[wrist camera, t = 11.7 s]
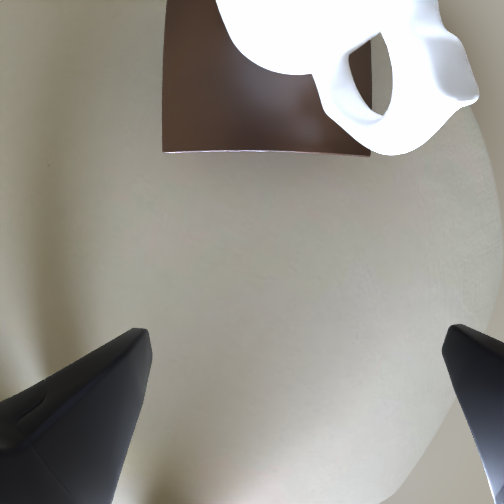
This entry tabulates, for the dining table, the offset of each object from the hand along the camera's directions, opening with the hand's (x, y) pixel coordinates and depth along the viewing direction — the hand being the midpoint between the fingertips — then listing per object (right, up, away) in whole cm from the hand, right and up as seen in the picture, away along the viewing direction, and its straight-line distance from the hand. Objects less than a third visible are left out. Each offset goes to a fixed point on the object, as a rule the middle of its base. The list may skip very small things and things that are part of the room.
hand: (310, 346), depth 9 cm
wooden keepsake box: (-1, +14, +9) cm, 16 cm away
